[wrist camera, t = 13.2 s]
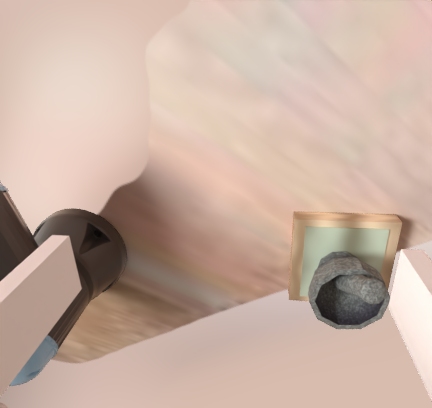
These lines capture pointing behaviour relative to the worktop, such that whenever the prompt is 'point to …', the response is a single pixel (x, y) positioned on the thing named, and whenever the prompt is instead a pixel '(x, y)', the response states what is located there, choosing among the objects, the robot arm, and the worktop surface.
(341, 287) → the mortar and pestle
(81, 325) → the worktop surface
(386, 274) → the beige flat pad
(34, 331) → the robot arm
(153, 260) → the worktop surface
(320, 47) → the worktop surface
